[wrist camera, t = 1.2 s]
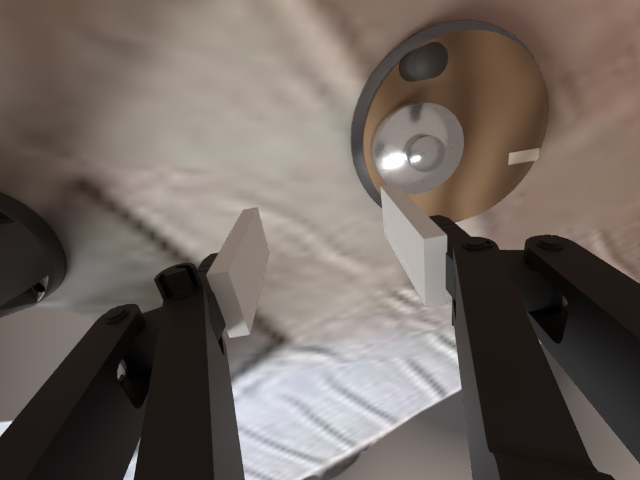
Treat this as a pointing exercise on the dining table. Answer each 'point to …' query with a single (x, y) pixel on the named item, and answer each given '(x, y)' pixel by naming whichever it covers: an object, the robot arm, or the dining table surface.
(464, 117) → the platter
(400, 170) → the cover
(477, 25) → the turntable base
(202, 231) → the dining table surface
